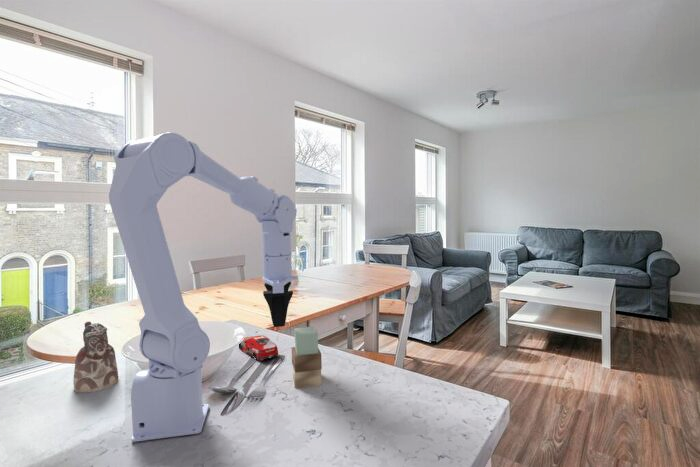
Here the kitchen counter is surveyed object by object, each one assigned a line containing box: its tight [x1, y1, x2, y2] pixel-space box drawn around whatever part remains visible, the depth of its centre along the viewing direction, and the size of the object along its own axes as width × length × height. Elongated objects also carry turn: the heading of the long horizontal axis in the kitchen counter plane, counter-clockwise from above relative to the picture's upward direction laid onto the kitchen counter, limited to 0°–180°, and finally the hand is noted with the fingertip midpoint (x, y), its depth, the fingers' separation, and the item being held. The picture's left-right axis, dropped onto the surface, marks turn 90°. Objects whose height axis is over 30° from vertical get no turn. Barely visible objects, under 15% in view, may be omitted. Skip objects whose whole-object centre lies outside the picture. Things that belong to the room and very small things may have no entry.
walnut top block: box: [291, 346, 323, 373], centre depth 72 cm, size 5×5×3 cm
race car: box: [238, 334, 279, 361], centre depth 87 cm, size 13×5×4 cm, turn 38°
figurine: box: [72, 321, 119, 393], centre depth 72 cm, size 7×7×12 cm
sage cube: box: [294, 326, 319, 356], centre depth 72 cm, size 4×4×4 cm
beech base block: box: [292, 366, 322, 389], centre depth 72 cm, size 5×5×3 cm
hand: (278, 320), depth 76 cm, fingers open, 7 cm apart
